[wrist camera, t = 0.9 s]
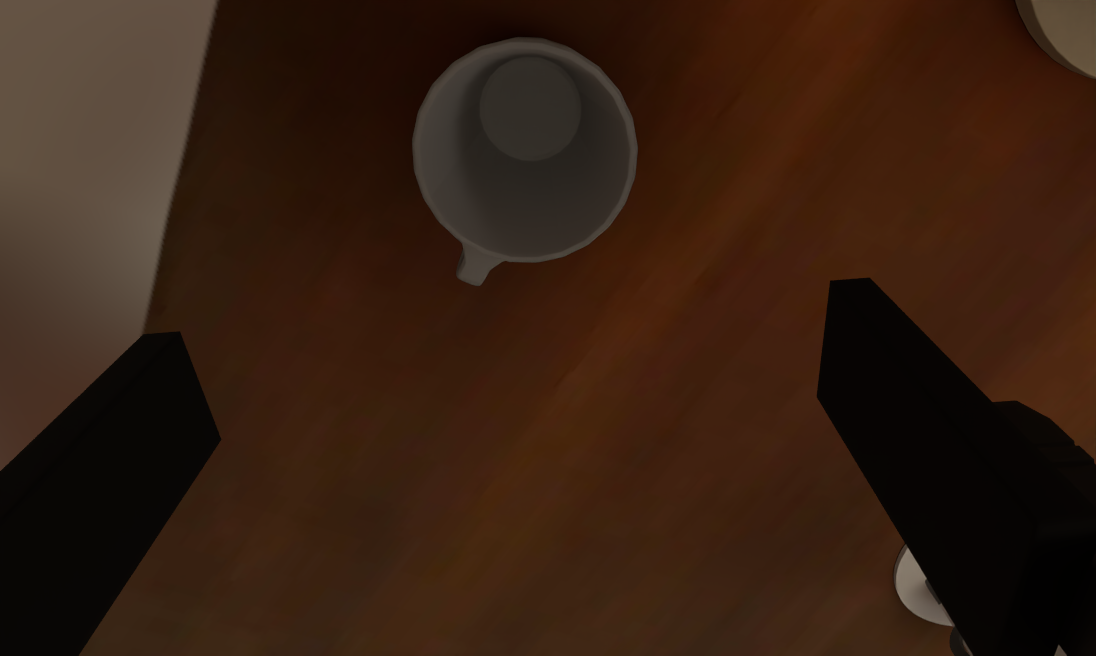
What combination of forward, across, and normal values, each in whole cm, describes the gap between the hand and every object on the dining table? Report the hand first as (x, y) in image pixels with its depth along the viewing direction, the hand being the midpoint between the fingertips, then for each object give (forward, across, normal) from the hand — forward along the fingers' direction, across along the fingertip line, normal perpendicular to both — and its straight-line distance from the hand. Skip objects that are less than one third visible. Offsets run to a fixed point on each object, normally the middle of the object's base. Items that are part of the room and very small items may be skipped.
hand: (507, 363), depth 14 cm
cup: (+20, 0, 0) cm, 20 cm away
